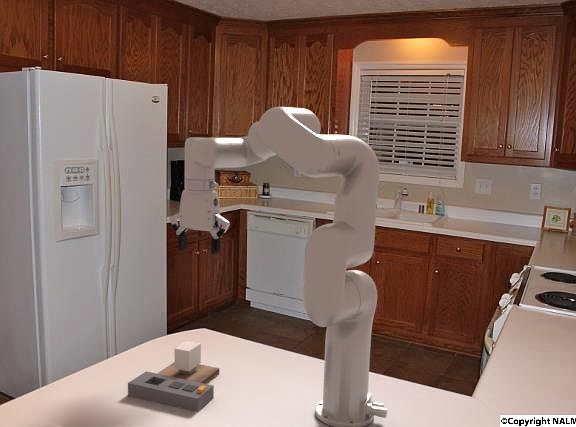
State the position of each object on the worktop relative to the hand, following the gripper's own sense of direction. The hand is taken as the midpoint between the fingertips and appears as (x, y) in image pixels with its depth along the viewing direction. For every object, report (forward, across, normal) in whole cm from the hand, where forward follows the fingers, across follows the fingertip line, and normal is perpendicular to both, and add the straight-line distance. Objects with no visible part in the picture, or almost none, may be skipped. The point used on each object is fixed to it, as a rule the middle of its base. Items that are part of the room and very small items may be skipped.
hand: (198, 251), depth 150 cm
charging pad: (+28, -5, +14) cm, 32 cm away
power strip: (+28, -7, +24) cm, 38 cm away
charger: (+27, -5, +14) cm, 30 cm away
